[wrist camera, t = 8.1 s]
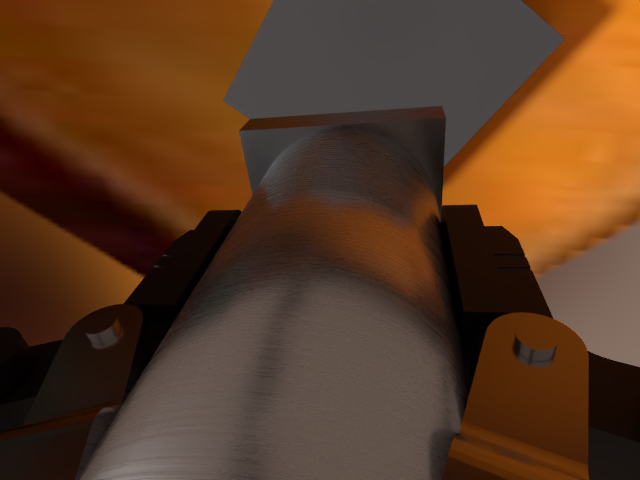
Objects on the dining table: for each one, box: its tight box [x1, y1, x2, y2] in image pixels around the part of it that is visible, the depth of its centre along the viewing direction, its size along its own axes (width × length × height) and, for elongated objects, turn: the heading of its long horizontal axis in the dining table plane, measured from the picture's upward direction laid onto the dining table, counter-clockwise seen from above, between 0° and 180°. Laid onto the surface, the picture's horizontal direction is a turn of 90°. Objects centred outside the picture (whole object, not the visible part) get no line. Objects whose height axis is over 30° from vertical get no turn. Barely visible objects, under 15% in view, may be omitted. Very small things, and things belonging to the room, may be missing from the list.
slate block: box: [223, 0, 565, 166], centre depth 28 cm, size 15×15×4 cm
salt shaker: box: [78, 106, 470, 480], centre depth 8 cm, size 5×5×11 cm
